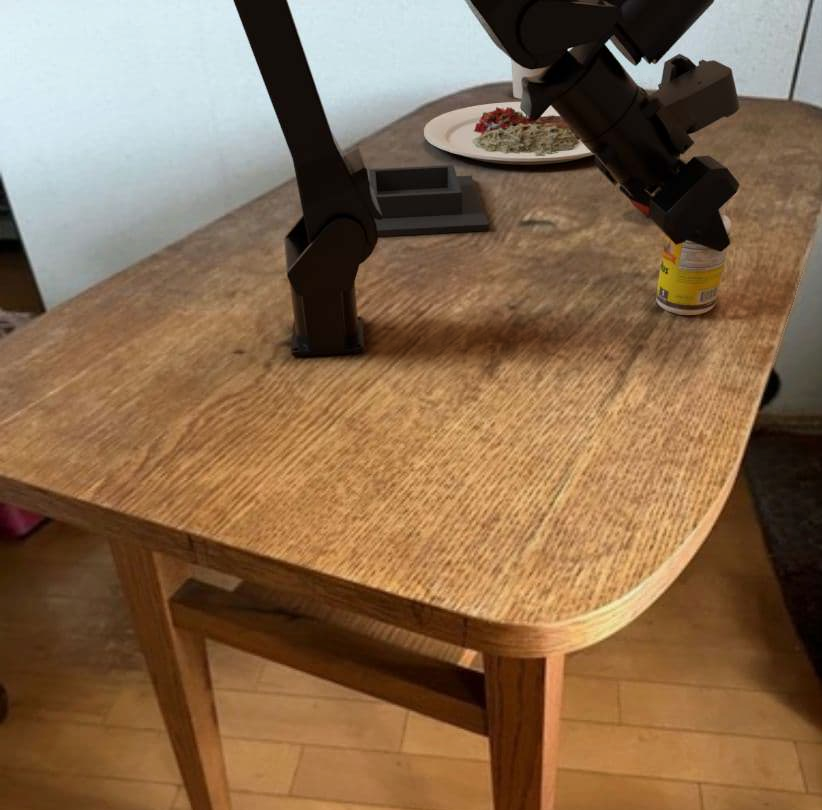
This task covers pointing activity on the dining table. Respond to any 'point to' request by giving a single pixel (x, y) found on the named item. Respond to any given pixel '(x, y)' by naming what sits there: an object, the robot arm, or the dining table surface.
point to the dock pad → (426, 201)
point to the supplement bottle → (690, 275)
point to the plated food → (506, 135)
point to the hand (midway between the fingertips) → (711, 235)
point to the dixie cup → (518, 74)
